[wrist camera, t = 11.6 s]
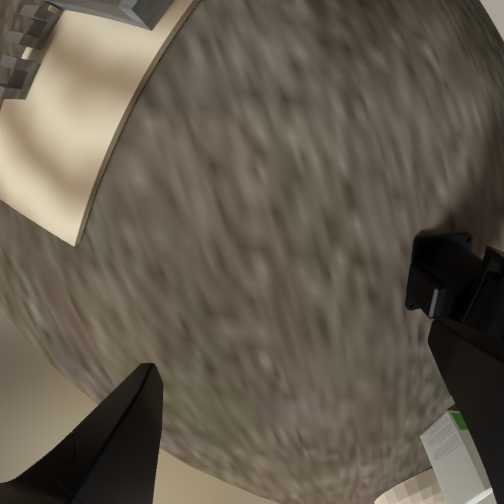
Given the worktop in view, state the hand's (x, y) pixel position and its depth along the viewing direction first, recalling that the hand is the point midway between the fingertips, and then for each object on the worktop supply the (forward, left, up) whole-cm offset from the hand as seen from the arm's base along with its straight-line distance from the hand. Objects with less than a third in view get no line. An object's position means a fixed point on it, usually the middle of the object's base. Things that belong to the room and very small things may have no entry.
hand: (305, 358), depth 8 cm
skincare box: (-25, +33, -13) cm, 43 cm away
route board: (+12, -15, -13) cm, 23 cm away
